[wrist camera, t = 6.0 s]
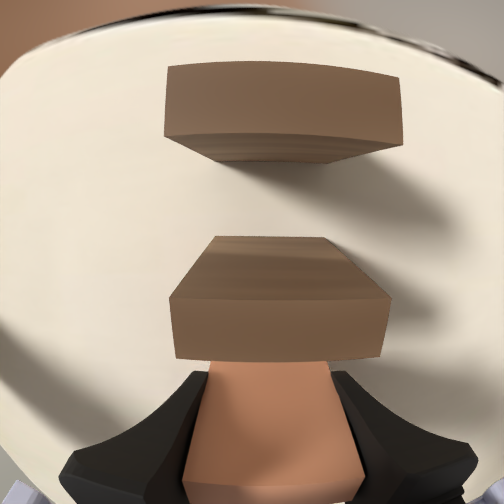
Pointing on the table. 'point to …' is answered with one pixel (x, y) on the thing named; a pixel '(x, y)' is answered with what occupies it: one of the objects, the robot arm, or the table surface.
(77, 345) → the table surface
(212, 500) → the domino
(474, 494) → the table surface
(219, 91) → the domino
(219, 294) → the domino
